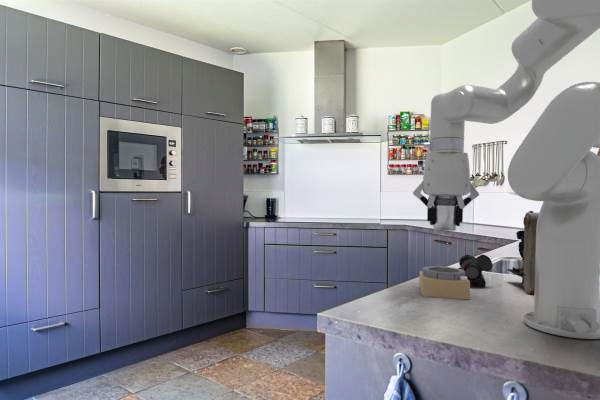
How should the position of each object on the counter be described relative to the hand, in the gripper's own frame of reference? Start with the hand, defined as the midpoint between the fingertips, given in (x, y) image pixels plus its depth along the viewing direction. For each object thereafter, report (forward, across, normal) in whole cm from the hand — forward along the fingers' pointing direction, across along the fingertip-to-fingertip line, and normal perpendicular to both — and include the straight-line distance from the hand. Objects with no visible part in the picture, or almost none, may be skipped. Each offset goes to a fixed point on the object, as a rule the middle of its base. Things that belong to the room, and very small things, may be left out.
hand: (444, 224), depth 98 cm
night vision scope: (+17, +9, +16) cm, 25 cm away
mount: (+16, 0, 0) cm, 16 cm away
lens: (+1, 0, 0) cm, 1 cm away
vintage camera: (+16, +24, +12) cm, 31 cm away
